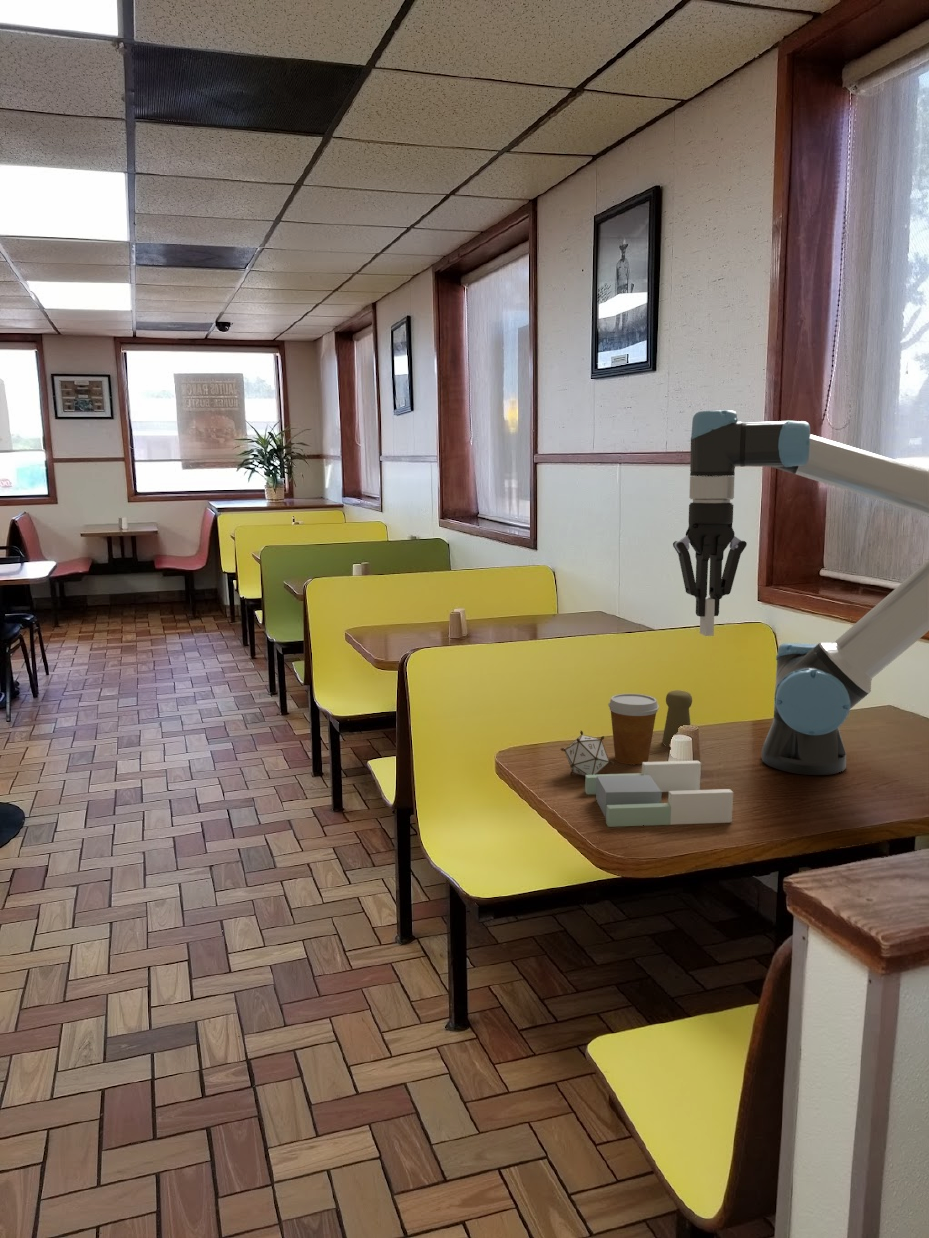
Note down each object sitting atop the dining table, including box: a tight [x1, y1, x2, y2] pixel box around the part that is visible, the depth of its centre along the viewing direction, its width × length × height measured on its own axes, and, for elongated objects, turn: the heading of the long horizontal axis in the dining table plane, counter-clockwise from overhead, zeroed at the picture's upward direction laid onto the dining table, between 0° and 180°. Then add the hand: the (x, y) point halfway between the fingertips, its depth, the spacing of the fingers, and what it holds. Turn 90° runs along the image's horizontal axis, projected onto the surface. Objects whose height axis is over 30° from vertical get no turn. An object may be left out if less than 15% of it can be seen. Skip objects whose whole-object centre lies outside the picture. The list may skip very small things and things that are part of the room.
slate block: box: [595, 775, 663, 818], centre depth 154 cm, size 9×8×4 cm
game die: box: [560, 730, 614, 777], centre depth 168 cm, size 9×8×10 cm
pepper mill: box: [661, 689, 693, 748], centre depth 188 cm, size 6×6×11 cm
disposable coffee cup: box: [607, 693, 660, 766], centre depth 178 cm, size 10×10×12 cm
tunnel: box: [584, 760, 734, 828], centre depth 154 cm, size 20×16×5 cm
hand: (706, 634), depth 166 cm, fingers closed
